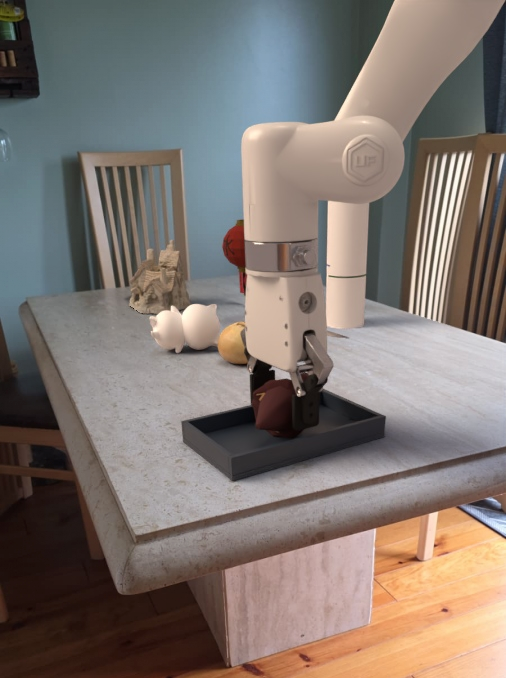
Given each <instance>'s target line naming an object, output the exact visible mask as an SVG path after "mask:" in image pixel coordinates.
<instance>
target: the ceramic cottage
mask: <svg viewBox="0 0 506 678" xmlns="http://www.w3.org/2000/svg"><path fill="white" fill-rule="evenodd" d="M175 243H176V242H175V239H170V240H169V244H167V245H166V248H165V249H161V250H160V252H159V258H158V262H157V256H156V251H155V249H154V248H148V249H147V250H146V259H145V260H142V261H141V264H140V265H139V267H138V269H137V271H136V272H135V273H134V275H133V276H132V277H131V278H130V280H129V284H130V285H131V288H130V293H131V297H130V298H129V303H128V306H129V307H130V306H131V307H133V308H134V309H133V308H132V309H133V310H134V311H136V310H137V311H138V312H140V313H139V314H141V313H143V314H145V315H146V314H147V315H150V314H153V315H158V314H159V313H160V312H162V311H165V310H168V311H171V306H172V305H173V306H175V307H176V308H177V309H178V311H182V310H185V309H186V308H187V307H188V306H190V305H192V304H191V299H190V295H189V292H188V288H187V287H188V286H187V283H186V280H185V279H184V276H185V275H184V274H185V272H184V269H183V266H184V264H183V263H184V262H183V259H182V257H181V252H180V250H176V245H175ZM131 307H130V308H131ZM137 311H136V312H137ZM138 312H137V313H138Z"/></svg>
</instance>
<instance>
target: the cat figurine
mask: <svg viewBox="0 0 506 678" xmlns="http://www.w3.org/2000/svg"><path fill="white" fill-rule="evenodd" d="M217 307H218V305H217V304H215V303H211V304H209V305H205V304H201V303H194V304H191V305H190V306H188V307H187V308H185V309H184V310H183V312H182V313H181V311H180V310H178V309H177V308H176V307H175V306H173V305H172V306H171V311H168V310H165V311H162V312H160V313H159V314H156V316H153V315H150V316H149V324H150V326H151V328H152V330H150V335H151V337H152V338H154V340H155V342H156V343H157V344H158V346H159V347H160V348H162V349H165V350H168V351H171V350H174V351H175V353H176V354H180V353H181V351H182V350H183V348H184V345H185V344H186V345H187V346H188V347H189V348H191V349H193V350H197V351H201V350H205V349H207V348H209V347H218V339H219V336H220V332H221V322H220V319H219V317H218V315H217Z"/></svg>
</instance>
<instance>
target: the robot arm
mask: <svg viewBox="0 0 506 678" xmlns="http://www.w3.org/2000/svg"><path fill="white" fill-rule="evenodd" d="M505 2H506V0H394V1H393V3H392V5H391V8H390V10H389V12H388V15H387V17H386V18H385V22H384V24H383V26H382V29H381V30H380V33H379V35H378V37H377V39H376V41H375V43H374V45H373V47H372V49H371V51H370V53H369V55H368V57H367V59H366V60H365V62H364V64H363V66H362V67H361V69H360V71H359V73H358V76H357V77H356V79H355V81H354V82H353V85H352V87H351V89H350V90H349V92H348V94H347V96H346V98H345V100H344V102H343V104H342V105H341V107H340V109H339V111H338V113H337V115H336V116H335V118H334V120H330V121H324V122H316V123H307V122H302V121H276V122H275V121H274V122H262V123H258V124H253V125H250V126H249V127H247V128H246V129H245V130H244V132H243V134H242V137H241V142H240V143H241V144H240V145H241V146H240V149H241V150H240V152H241V153H240V156H241V178H242V179H241V180H242V184H241V186H242V207H243V208H242V210H243V219H244V237H245V267H246V268H245V269H246V274H247V282H246V297H245V296H244V297H245V298H244V299H245V300H244V322H245V328H244V329H243V330H242V331H241V333H240V335H241V339H242V342H243V345H244V348H245V349H244V354H245V356H246V358H247V360H248V363H246V370H247V372H248V373H249V395H250V397H249V399H250V405H252V400H253V392H254V391H255V390H257V389H258V388H260V387H261V386H263V385H264V384H265V383H266V382H268V381H270V380H276V370H275V369H279V370H281V371H283V372H286V373H288V374H289V377H290V380H292V383H293V386H294V389H295V392H296V394H295V395H292V428H293V429H294V430H296V431H299V430H303V429H306V428H310V427H314V426H317V425H318V424H319V393H320V392H322V391H323V389H324V386H325V385H326V384H327V383H328V380H329V377H330V375H331V372H332V370H333V369H334V361H333V359H332V358H331V357H330V355H329V354H328V335H327V331H328V326H327V320H326V296H325V290H324V283H323V280H322V275H321V273H320V272H318V271H319V201H325V202H328V201H335V202H343V203H351V204H365V203H369V204H370V203H373V202H375V201H378V200H379V199H382V198H383V197H384V196H386V195H387V194H388V193H390V192H391V191H392V190H393V189H394V187H395V186H396V184H397V183H398V181H399V180H400V178H401V176H402V173H403V170H404V167H405V158H406V157H405V147H404V144H403V143H404V141H405V140H406V138H407V136H408V134H409V133H410V131H411V129H412V128H413V126H414V125H415V122H416V121H417V120H418V118H419V116H420V114H421V113H422V112H423V110H424V108H425V107H426V105H427V104H428V103H429V101H430V100H431V98H432V97H433V95H435V93H436V92H437V90H438V89H439V87H440V86H441V85H442V84H443V83H444V81H446V79H447V78H448V77H449V76H450V75H451V74H452V73H453V72H454V71H455V70H456V69H457V68H458V66H459V65H461V64H462V63H463V62H464V60H465V59H466V58H467V57H468V56H469V55H470V54H471V53H472V52H473V50H474V49H475V48H476V46H478V44H479V42H480V41H481V40H482V39H483V37H484V36H485V35H486V33H487V32H488V30H489V29H490V27H491V25H492V24H493V22H494V20H495V19H496V18H497V15H498V14H499V12H500V10H501V9H502V7H503V5H504V3H505ZM303 362H304V364H298V363H303ZM272 367H273V368H275V369H273V368H272ZM304 372H305V373H308V377H307V379H306V380H305V381H304V382H303V380H302V377H301V375H300V373H304Z"/></svg>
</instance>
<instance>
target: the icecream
mask: <svg viewBox="0 0 506 678" xmlns="http://www.w3.org/2000/svg"><path fill="white" fill-rule="evenodd" d="M300 375H301V377H302V380H303V382H304V381H305V380H306V379H307V377H308V373H307V372H304V373H300ZM295 394H296V392H295V389H294V386H293V383H292V380H291V378H290V379H289V378H287V377H286V378H280V379H275V380H270V381H268V382H266V383H265V384H264V385H263V386H261V387H260V388H258V389H257V390H255V391H254V392H253V400H252V406H253V409H254V413H255V419H256V428H257V429H260V430H266V431H267V432H269V433H270V434H271V435H272V436H273V437H285V438H294V437H296V436H298V435H299V434H300V433H301V432H302V431H303V430H304V429H303V430H299V431H296V430H294V429H293V428H292V395H295Z"/></svg>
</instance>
